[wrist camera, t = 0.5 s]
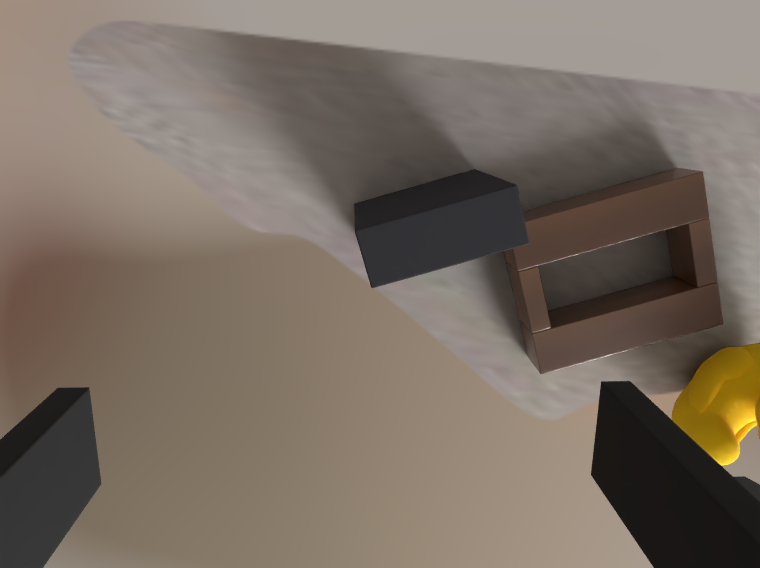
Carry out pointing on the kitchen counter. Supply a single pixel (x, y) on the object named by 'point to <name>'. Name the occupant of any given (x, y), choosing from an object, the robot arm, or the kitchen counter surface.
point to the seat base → (628, 307)
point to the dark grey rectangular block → (438, 225)
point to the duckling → (722, 402)
